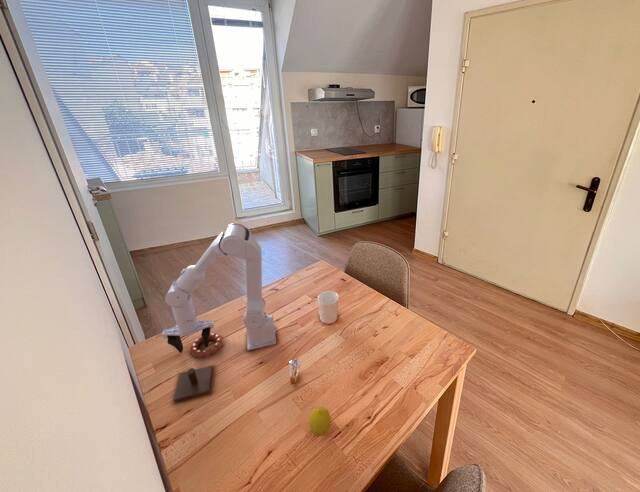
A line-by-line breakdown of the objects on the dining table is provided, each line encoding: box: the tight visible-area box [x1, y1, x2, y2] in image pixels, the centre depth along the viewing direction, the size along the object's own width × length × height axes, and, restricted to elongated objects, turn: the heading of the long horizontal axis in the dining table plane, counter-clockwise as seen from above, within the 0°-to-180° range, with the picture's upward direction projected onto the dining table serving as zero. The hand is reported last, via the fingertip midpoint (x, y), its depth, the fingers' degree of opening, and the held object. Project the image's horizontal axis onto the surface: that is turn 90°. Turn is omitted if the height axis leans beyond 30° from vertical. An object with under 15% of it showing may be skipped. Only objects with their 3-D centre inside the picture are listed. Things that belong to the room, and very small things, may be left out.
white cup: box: [317, 290, 339, 325], centre depth 113 cm, size 8×8×10 cm
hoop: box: [190, 332, 223, 359], centre depth 100 cm, size 10×10×2 cm
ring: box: [288, 357, 301, 385], centre depth 89 cm, size 7×3×8 cm, turn 174°
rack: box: [173, 365, 213, 403], centre depth 87 cm, size 9×9×6 cm
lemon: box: [308, 406, 332, 437], centre depth 75 cm, size 6×6×8 cm
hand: (194, 347), depth 99 cm, fingers open, 7 cm apart
